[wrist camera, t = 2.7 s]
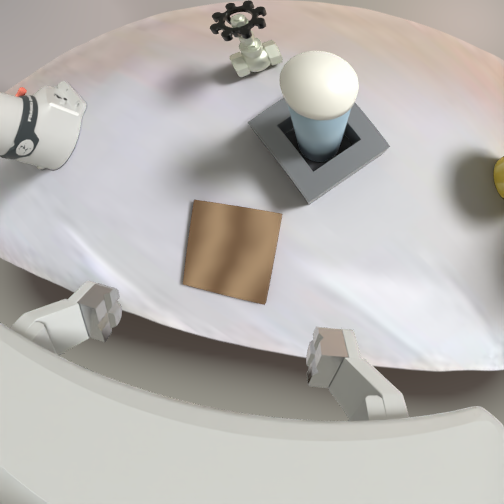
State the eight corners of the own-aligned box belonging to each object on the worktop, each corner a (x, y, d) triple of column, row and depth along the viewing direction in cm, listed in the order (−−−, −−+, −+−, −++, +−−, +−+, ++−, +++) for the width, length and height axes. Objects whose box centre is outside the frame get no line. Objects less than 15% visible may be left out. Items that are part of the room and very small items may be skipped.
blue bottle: (287, 137, 34) (264, 75, 17) (322, 114, 32) (323, 40, 16) (314, 171, 34) (313, 129, 17) (349, 147, 32) (374, 90, 16)
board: (185, 282, 39) (182, 284, 38) (197, 200, 37) (194, 199, 36) (265, 302, 37) (264, 304, 36) (282, 213, 35) (281, 213, 34)
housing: (255, 133, 35) (247, 122, 30) (325, 87, 32) (326, 71, 27) (309, 204, 34) (308, 202, 30) (381, 154, 31) (389, 146, 27)
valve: (288, 73, 32) (275, 23, 21) (245, 89, 34) (217, 45, 22) (271, 43, 32) (254, -6, 21) (231, 58, 34) (202, 13, 22)
